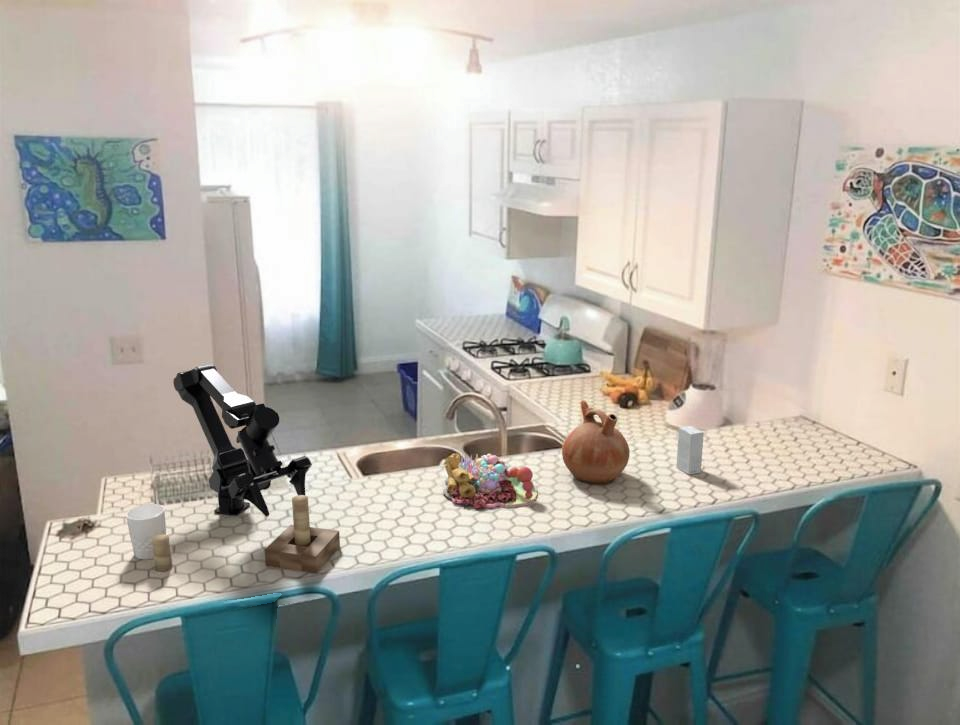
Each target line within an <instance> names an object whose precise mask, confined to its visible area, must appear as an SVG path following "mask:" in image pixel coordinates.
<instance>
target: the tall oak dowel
mask: <svg viewBox="0 0 960 725" xmlns="http://www.w3.org/2000/svg"><path fill="white" fill-rule="evenodd" d="M291 504H292V505H291V506H292V507H291V508H292V518H293V519H292V520H293V521H292V522H293V525H294V537H295V545H298V546H306V547H308V546H309V545H310V544H311V539H310V527H311V526H310V510H309V497H308V495H306V494H305V495H298V494H297V495H295V496H293V497H291Z"/></svg>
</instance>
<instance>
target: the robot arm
mask: <svg viewBox="0 0 960 725" xmlns="http://www.w3.org/2000/svg"><path fill="white" fill-rule="evenodd" d="M172 382H173V387H174V390H175V391H176V392H177V393H178V396H180V398H181V400H182V401H184V402H185V403H186V404H188V405H189V406H191V407H192V408H193V411H194V413H195V415H196V418H197V420H198V422H199V424H200V425H199V426H200V427H201V429H202V432H203V434H204V436H205V438H206V441H207V443H208V444H209V448H210V449H211V452H212V454H213V460H212V465H211V468H212V471H213V472H212V474H211V475H210V476H209V479H208V485H209V488H210V489H211V490H213V491H214V493H215V492H216V493H217V495H218V496H217V501H218V502H217V503H218V507H216V508H215V509H214V510H213V512H214V513H215V514H220V515H221V514H222V515H230V516H238V515H239V514H241V513H242V512H244V511H245V510H246V509H247V508H248V507H249V506H250V505H251V504H252V505H253V506H255V508H256V509H258V510H259V511H260V512H261V513H262V515H263V516H265V517H269V516H270V511H269V509H268V506H267V503H266V500H265V498H264V495H263V493H262V491H263V490H268V489H270V488H271V485H272V483H271V482H272V481H273V480H275V479H279V478H282V477H285V476H287V478H289V479H290V480H289V484H291V485H293V488H294V490H295V492H296V494H297V495H305V496H306V475H307V473H308V471H309V470H310V468H311V467H312V466H313V464H312V461H311V460H310V458H309V457H308V456H305V455H302V456H299V457H297V458H293V459H292V460H290V461H289V464H287V466H283V467H282V465H283V462H282V461H281V460H278V458H277V456H276V455H275V452H274V451H275V449H276V447H275V445H274V444H272V445H271V444H270V442H269V440H268V439H269V438H271V436H272V434H273V432H274V431H275V430H276V428H277V426H278V425H279V424H280V415H279V413H278V412H276V410H274V409H273V408H271V407H269V406H265V403H264V402H262V403H261V402H260V403H256V401H254V400H253V399H252V398H250V397H249V396H247V395H246V394H242V393H241V394H240V393H238V392H237V391H236V390H235V389H234V388H233V387H232V386H231V385H230V384H229V383H228V382H227V380H225V378H224V377H223V376H222V375H221V374H220V373H219V372H218V371H217V367H216V366H215V365H214V364H206V365H205V364H204V365H199V366H196V367H194V368H191V370H186V371H182V372H181V371H179V372H177V374H176V376H175V377H174V378H173V381H172ZM212 399H213V400H212ZM213 401H214V402H216V404H217V405H218V406H219V408H220V409H221V410H222V411H221V418H222V419H221V418H220V415H219V414H218V412H217V409H216V407H215V404H214V402H213ZM222 420H223V422H224V423H225V425H227V427H228V428H229V429H231V430H233V429H239V428H241V429H240V430H238V431H237V437H236V440H235V441H236V443H237V444H239V443H240V444H241V447H242V448H241V447H240V448H236V447H235V446H234V445H232V442H231V440H230V437H229V436H228V433H227V431H226V429H225V427H224V425H223V424H224V423H223V422H222ZM242 427H243V428H242ZM245 500H247V501H245Z"/></svg>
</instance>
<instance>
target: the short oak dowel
mask: <svg viewBox="0 0 960 725" xmlns="http://www.w3.org/2000/svg"><path fill="white" fill-rule="evenodd" d="M152 545H153V553H154V558H153V559H154V569H155V571H156V572H161V573H163V572H167V571H169V570H171V569H172V568H173V561H172V551H171V542H170V536H169V535H168V534H166V535H165V534H162V535H157V536H155V537H153V538H152Z"/></svg>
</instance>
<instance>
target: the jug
mask: <svg viewBox="0 0 960 725" xmlns="http://www.w3.org/2000/svg"><path fill="white" fill-rule="evenodd" d="M580 410H581V414H582V418H583V419H582V420H583V422H582V424H580V425H578V426H576V427H575V428H574V429H573V430H572V431H571V432H570V433H569V434H568V435H567V436H566V437H565V439H564V441H563V443H562V444H561V446H562V447H561V448H562V449H561V455H562V460H563V463H564V465H565V467H566V468H567V470H568V471H569V473H570V474H571V475H572V476H573V477H574V478H575V479H576V480H577V481H578V482H581V483H584V484H586V485H592V486H603V485H609V484H611V483H613V482H615V481H616V479H617V478H619V476H620V475H621V474H622V473H623V471H624V470H625V469H626V467H627V465H628V464H629V459H630V455H631V454H630V447H629V444H628V441H627V440H626V438H625V436H624V434H622V432H621V431H620V430H619V429H618V428H616V424H617V422H618V417H617V416H616V415H615V414H614V413H609V414H608V415H607V414H606V412H605V411H604V410H602V409H599V408H593V406H589V404H588V402H587V401H586V400H584V399H581V401H580ZM596 415H597V416H598V418H599V419H600V421H597V420H596V419H595V417H594V416H596Z"/></svg>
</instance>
